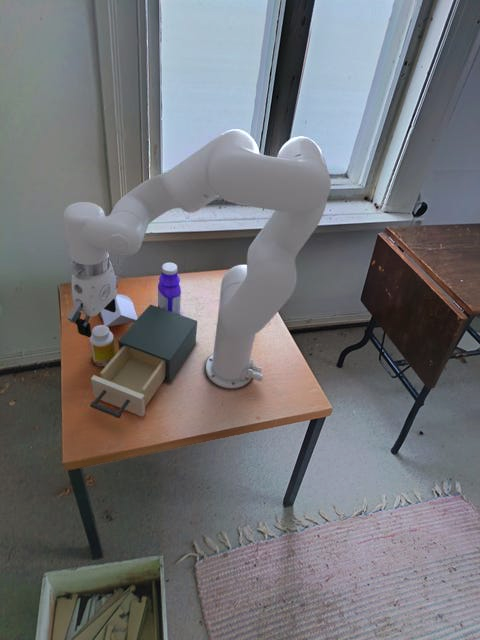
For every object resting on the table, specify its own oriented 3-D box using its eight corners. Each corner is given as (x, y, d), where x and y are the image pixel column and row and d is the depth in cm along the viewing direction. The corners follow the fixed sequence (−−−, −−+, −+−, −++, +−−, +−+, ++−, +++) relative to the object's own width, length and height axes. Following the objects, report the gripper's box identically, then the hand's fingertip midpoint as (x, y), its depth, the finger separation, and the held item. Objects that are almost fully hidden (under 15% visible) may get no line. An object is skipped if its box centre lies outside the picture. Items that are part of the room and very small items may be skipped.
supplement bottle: (119, 361, 105) (116, 333, 98) (99, 370, 102) (94, 341, 95) (109, 348, 108) (106, 319, 101) (89, 356, 105) (84, 327, 98)
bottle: (183, 319, 120) (185, 271, 108) (165, 325, 117) (166, 276, 105) (172, 304, 124) (173, 256, 112) (154, 310, 121) (153, 261, 109)
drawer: (131, 433, 89) (129, 416, 84) (81, 412, 91) (76, 394, 87) (172, 373, 103) (172, 354, 98) (127, 356, 105) (126, 337, 101)
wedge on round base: (139, 329, 114) (129, 301, 122) (138, 312, 109) (128, 283, 118) (106, 336, 111) (98, 305, 119) (103, 317, 106) (95, 287, 115)
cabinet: (169, 383, 102) (169, 360, 96) (120, 364, 104) (117, 340, 98) (195, 343, 113) (197, 320, 107) (150, 327, 115) (150, 304, 110)
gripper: (79, 290, 78) (89, 351, 89) (128, 248, 90) (131, 306, 102) (46, 278, 79) (60, 339, 90) (99, 238, 92) (105, 296, 103)
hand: (97, 322), depth 96 cm, fingers open, 9 cm apart
